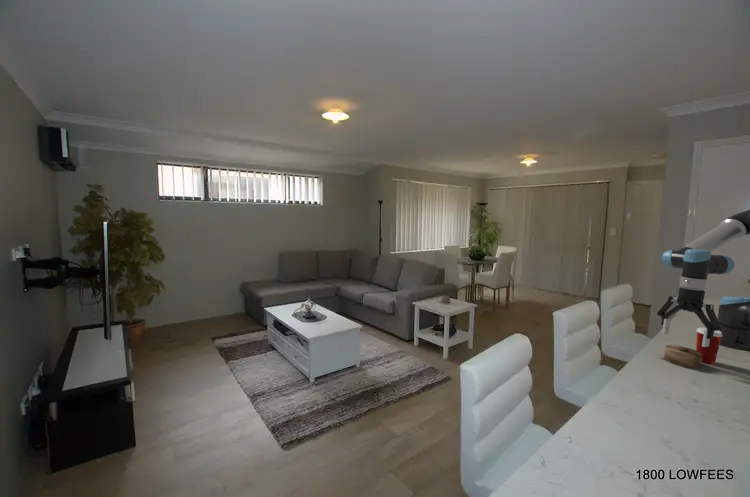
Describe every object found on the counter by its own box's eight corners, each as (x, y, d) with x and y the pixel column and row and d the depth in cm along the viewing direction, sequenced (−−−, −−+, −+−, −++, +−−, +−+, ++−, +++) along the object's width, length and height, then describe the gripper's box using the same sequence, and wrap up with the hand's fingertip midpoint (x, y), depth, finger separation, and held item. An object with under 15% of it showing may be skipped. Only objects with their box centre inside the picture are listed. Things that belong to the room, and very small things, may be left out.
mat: (675, 357, 143) (675, 355, 143) (704, 367, 133) (704, 366, 133) (659, 359, 139) (659, 358, 139) (688, 370, 130) (688, 369, 130)
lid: (674, 355, 143) (676, 341, 143) (707, 366, 133) (709, 352, 132) (657, 358, 140) (659, 344, 139) (689, 370, 129) (691, 355, 129)
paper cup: (723, 368, 133) (728, 334, 132) (700, 365, 135) (705, 332, 133) (708, 359, 141) (713, 327, 139) (687, 357, 143) (691, 325, 141)
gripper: (651, 281, 143) (644, 329, 146) (727, 296, 120) (718, 353, 122) (663, 281, 146) (656, 328, 148) (739, 295, 122) (730, 351, 125)
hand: (684, 339), depth 135 cm, fingers open, 13 cm apart
